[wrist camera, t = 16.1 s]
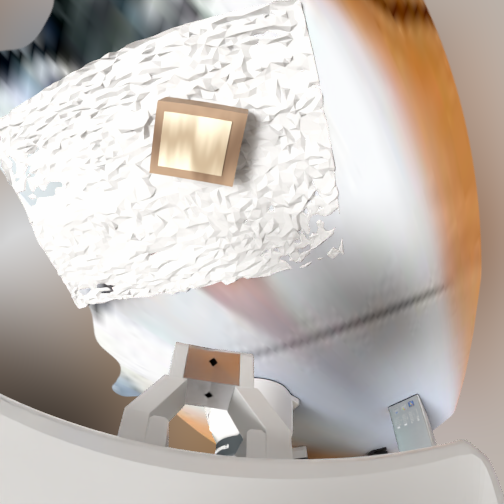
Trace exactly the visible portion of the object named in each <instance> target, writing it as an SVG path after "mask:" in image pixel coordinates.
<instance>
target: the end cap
mask: <svg viewBox="0 0 504 504" xmlns="http://www.w3.org/2000/svg"><path fill="white" fill-rule="evenodd" d="M380 454H388V453H387V451H386V447H384V448H380V449H377V450H373V451H371V452H370V454H369V455H368V456H371V455H380Z"/></svg>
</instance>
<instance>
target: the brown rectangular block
mask: <svg viewBox="0 0 504 504" xmlns="http://www.w3.org/2000/svg"><path fill="white" fill-rule="evenodd" d="M247 117H248V109H243V108H238V107H232V106H227V105H221V104H215V103H209V102H202V101H195V100H188V99H181V98H173V97H165V98H162V99H160V100H158V102H157V109H156V117H155V125H154V133H153V142H152V151H151V161H150V172H149V173H153V174H160V175H166V176H172V177H179V178H185V179H191V180H196V181H202V182H208V183H213V184H219V185H224V186H230V187H233V182H234V177H235V172H236V168H237V163H238V158H239V153H240V149H241V144H242V139H243V135H244V130H245V126H246V121H247Z"/></svg>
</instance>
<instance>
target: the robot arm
mask: <svg viewBox="0 0 504 504" xmlns="http://www.w3.org/2000/svg"><path fill="white" fill-rule="evenodd" d="M184 404H187V405H195V406H202V407H204V409H205V413H206V418H207V422H208V425H209V426H210V431H212V435H213V437H214V440H215V442H216V451H215V454H207V453H200V452H193V451H186V450H180V449H174V448H169V447H168V433H169V432H168V431H169V421H170V420H171V419H172V418H173V417H174V416H175V415H176V414H177V413H178V412H179V411H180V410H181V408H182V407H183V406H184ZM298 405H299V399H298V398H296V397H294V396H292V395H291V394H290V393H289V392H288V390H287V389H286V388H285V387H284V386H282V385H281V384H279V383H276V382H274V381H270V380H266V379H258V378H254V356H253V354H248V353H239V352H234V351H227V350H220V349H211V348H205V347H200V346H195V345H190V344H184V343H179V342H176V344H175V347H174V351H173V356H172V360H171V365H170V370H169V375H164V376H162V377H161V378H160V379H159V380H158V381H156V382H155V383H154V384H153V385H152V386H150V387H149V388H148V389H147V390H146V391H144V392H143V393H142V394H141V395H140V396H138V397H137V398H136V399H135V400H134V401H132V402H131V403H130V404H129V405H128V406H126V407H125V409H124V413H123V417H122V421H121V424H120V428H119V432H118V436H115V435H111V434H107V433H104V432H100V431H96V430H93V429H90V428H87V427H83V426H80V425H77V424H74V423H71V422H68V421H65V420H62V419H60V418H57V417H54V416H52V415H49V414H46V413H44V412H41V411H38V410H36V409H33V408H31V407H29V406H26V405H24V404H22V403H19V402H17V401H15V400H13V399H10V398H8V397H6V396H4V395H2V394H0V504H504V495H503V492H502V489H501V486H500V483H499V480H498V478H497V475H496V473H495V470H494V468H493V466H492V464H491V462H490V460H489V459H488V457H487V456H486V455H484V453H482V452H481V451H480V450H479V449H477V448H476V447H475V446H474V445H473V444H471V443H470V442H468V441H466V440H458V441H454V442H450V443H445V444H441V445H436V446H431V447H426V448H421V449H415V450H409V451H402V452H396V453H388V454H380V455H371V456H361V457H348V458H330V459H293V454H292V442H291V437H292V435H293V410H294V409H295V408H296V407H297V406H298Z"/></svg>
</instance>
